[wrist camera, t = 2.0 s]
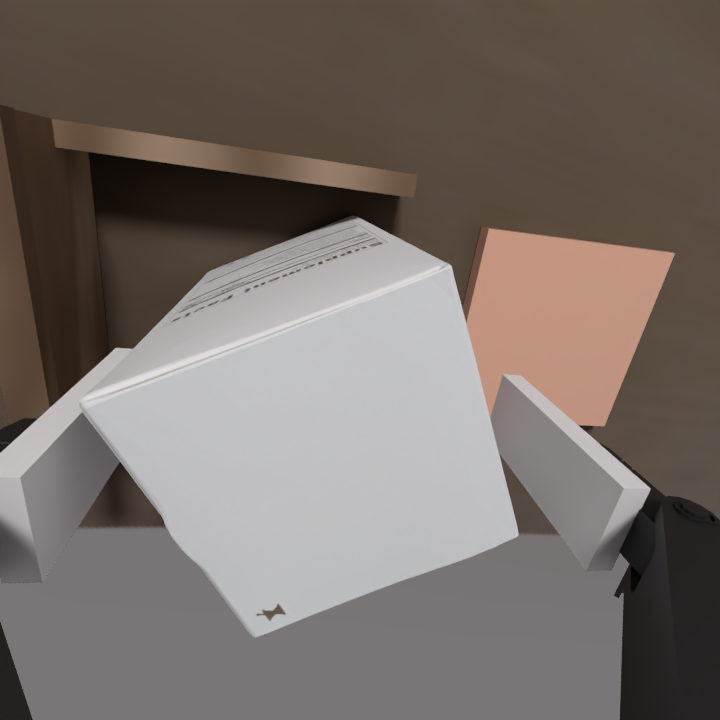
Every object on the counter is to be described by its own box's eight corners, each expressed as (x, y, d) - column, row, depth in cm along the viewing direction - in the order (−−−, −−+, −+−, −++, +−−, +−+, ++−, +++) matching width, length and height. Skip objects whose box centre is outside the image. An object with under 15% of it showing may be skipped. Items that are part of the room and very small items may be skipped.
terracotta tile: (438, 412, 28) (443, 420, 27) (481, 226, 24) (488, 228, 23) (594, 418, 30) (604, 426, 29) (661, 250, 26) (674, 253, 25)
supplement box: (406, 354, 26) (530, 546, 12) (271, 405, 26) (249, 652, 12) (359, 209, 22) (464, 255, 9) (201, 268, 22) (59, 408, 9)
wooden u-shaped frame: (93, 426, 25) (27, 508, 19) (54, 122, 19) (-63, 94, 13) (361, 435, 28) (381, 508, 22) (402, 175, 22) (445, 173, 16)
